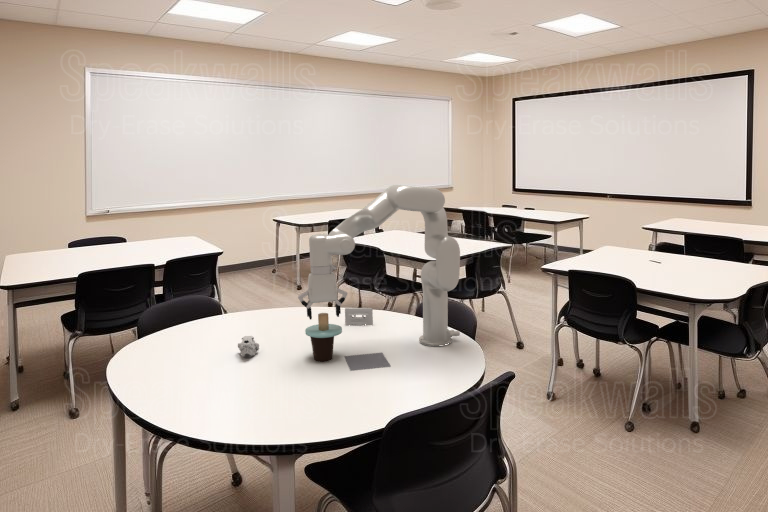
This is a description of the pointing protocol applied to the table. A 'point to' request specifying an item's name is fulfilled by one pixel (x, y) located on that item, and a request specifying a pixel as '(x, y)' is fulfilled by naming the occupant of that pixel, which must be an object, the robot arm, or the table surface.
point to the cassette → (358, 320)
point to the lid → (323, 328)
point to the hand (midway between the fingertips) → (324, 317)
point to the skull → (248, 346)
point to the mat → (366, 361)
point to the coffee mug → (322, 348)
